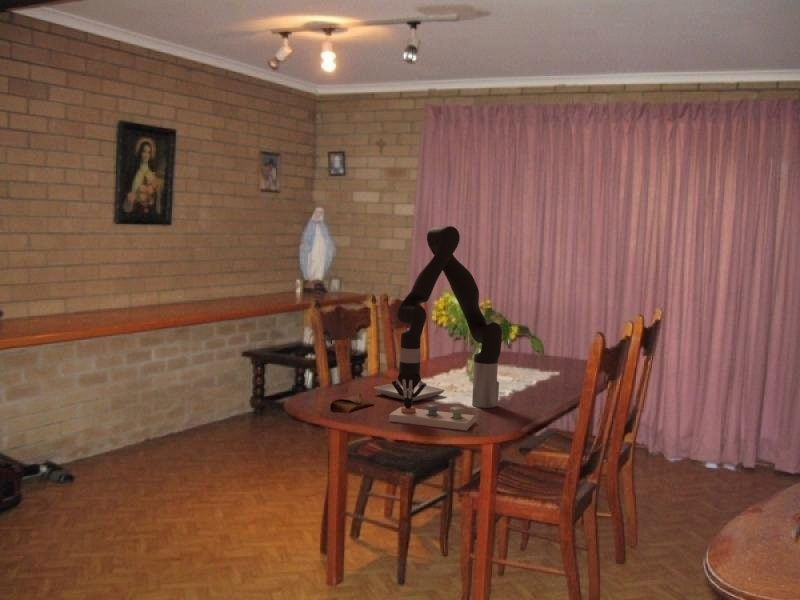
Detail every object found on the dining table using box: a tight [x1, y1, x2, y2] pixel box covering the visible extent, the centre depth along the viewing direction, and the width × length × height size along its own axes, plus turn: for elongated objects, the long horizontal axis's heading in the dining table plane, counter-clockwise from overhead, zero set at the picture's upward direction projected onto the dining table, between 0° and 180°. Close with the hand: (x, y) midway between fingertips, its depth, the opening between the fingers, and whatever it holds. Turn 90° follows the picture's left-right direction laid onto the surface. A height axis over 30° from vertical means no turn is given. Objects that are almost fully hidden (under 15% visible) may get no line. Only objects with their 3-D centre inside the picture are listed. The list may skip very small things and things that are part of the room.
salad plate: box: [373, 383, 446, 402], centre depth 319 cm, size 21×21×3 cm
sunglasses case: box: [329, 393, 376, 414], centre depth 296 cm, size 18×7×7 cm
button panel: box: [388, 406, 476, 431], centre depth 279 cm, size 28×12×2 cm, turn 71°
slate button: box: [424, 403, 441, 417], centre depth 278 cm, size 5×5×4 cm
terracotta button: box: [400, 406, 417, 414], centre depth 281 cm, size 5×5×4 cm
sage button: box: [449, 406, 466, 420], centre depth 275 cm, size 5×5×4 cm
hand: (408, 407), depth 281 cm, fingers closed
